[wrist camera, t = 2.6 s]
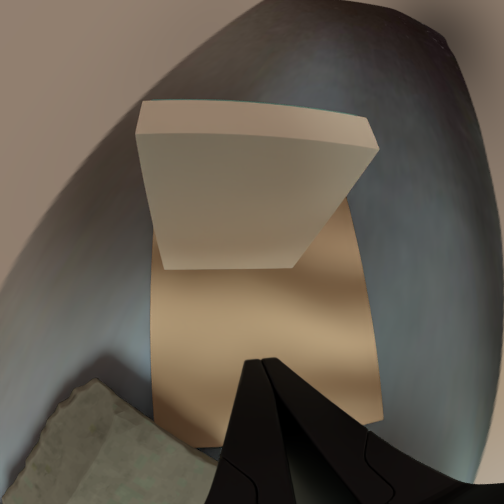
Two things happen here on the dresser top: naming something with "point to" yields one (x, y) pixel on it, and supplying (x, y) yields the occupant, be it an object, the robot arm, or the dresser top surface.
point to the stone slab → (109, 457)
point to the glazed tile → (245, 178)
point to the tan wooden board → (262, 333)
